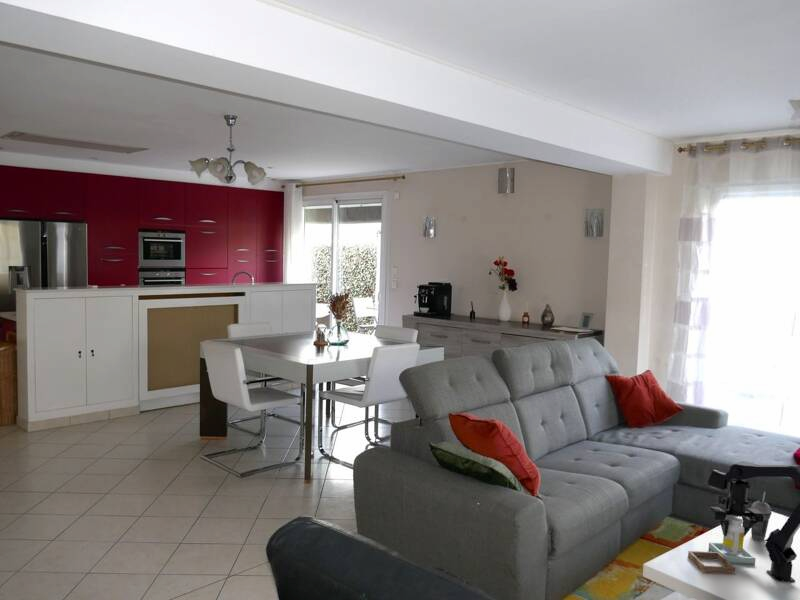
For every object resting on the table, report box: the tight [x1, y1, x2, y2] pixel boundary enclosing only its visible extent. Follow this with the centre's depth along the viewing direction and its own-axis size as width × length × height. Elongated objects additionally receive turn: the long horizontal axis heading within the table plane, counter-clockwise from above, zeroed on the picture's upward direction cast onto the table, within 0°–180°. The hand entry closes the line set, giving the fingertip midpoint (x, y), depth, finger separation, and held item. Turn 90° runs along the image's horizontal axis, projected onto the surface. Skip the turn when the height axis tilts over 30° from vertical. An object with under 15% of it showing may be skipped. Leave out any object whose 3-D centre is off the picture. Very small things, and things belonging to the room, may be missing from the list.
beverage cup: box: [750, 491, 772, 542], centre depth 255 cm, size 7×7×20 cm
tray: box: [708, 541, 756, 566], centre depth 239 cm, size 11×11×2 cm
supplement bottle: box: [722, 516, 745, 555], centre depth 239 cm, size 7×7×13 cm
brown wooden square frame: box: [687, 550, 737, 576], centre depth 231 cm, size 11×11×2 cm
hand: (733, 536), depth 239 cm, fingers closed on supplement bottle, 6 cm apart
